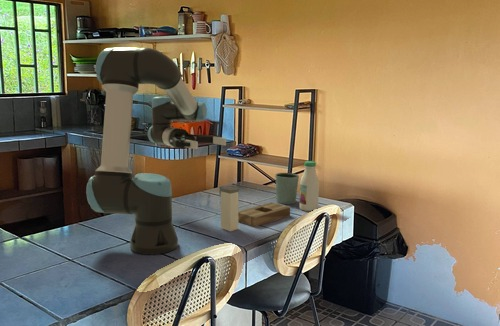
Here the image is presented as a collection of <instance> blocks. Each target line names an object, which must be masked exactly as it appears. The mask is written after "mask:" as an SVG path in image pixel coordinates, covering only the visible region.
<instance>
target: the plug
mask: <svg viewBox="0 0 500 326" xmlns="http://www.w3.org/2000/svg"><path fill="white" fill-rule="evenodd" d="M239 194H240V193H239V187H233V186H229V185H228V186H224V187H223V186H222V187H220V228H221V229H222V230H225V231H228V232H232V231H235V230H239V222H238V211H239V201H240V200H239Z"/></svg>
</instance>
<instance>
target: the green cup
mask: <svg viewBox="0 0 500 326" xmlns="http://www.w3.org/2000/svg"><path fill="white" fill-rule="evenodd" d="M299 179H300V178H299V174H296V173H293V172H279V173H276V174H275V201H276V202H275V203H276V204H280V205H293V204H295V203H296V202H297V192H298V185H299Z"/></svg>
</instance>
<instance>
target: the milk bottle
mask: <svg viewBox="0 0 500 326" xmlns="http://www.w3.org/2000/svg"><path fill="white" fill-rule="evenodd" d="M303 164H304V171H303V173H302V175H301V178H300V180H299V181H300V182H299V202H298V203H299V204H298V205H299V206H298V207H299V209H300V210H301V211H305V212H313V211H312V210H314V209H317V208H318V209H319V195H320V193H319V192H320V191H319V189H320V187H319V185H320V183H319V182H320V181H319V177H318V175H317V172H316V167H317V165H316V164H317V162H316V161H314V160H308V161H307V160H306V161H304V163H303ZM318 209H317V210H318Z"/></svg>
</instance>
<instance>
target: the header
mask: <svg viewBox="0 0 500 326" xmlns="http://www.w3.org/2000/svg"><path fill="white" fill-rule="evenodd" d="M288 217H291V206H286V205H284V204H280V203H277V202H268V203H264V204H261V205H257V206H253V207H250V208H246V209H242V210H238V223H242V224H245V225H248V226H252V227H255V228H256V227H259V226H262V225H266V224H269V223H272V222H275V221H279V220H281V219H285V218H288Z"/></svg>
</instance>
